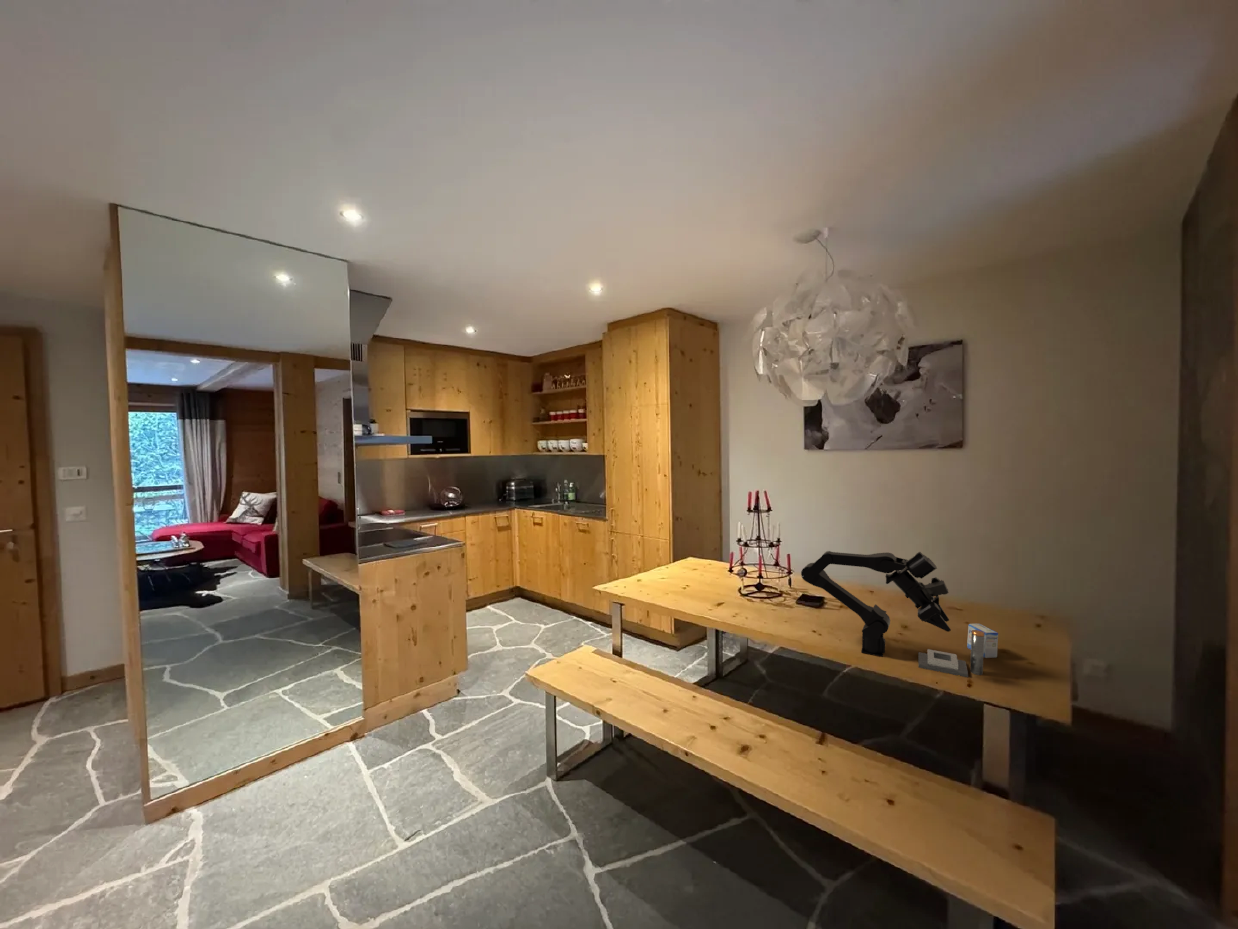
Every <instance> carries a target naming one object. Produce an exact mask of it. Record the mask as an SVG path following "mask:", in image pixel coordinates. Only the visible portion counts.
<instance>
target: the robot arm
mask: <svg viewBox="0 0 1238 929" xmlns="http://www.w3.org/2000/svg"><path fill="white" fill-rule="evenodd" d="M829 565H837V566H847V567H848V566H849V567H860V568H866V569H871V570H873V571H875V572H879V573H883V574H885V584H886V585H888V584H890V583H894V584H895V585H896V586H897V587H898V588H899V589H900V590H901V591H902V592H903V594H904V596H905V597H906V598H907V599H909V600H910V601H911V602H912V603H913V604H914V607H915V608H916V609H917V617H918V618H919V620H921V621H922V622H924V623H928V624H930V625H933V626H934V627H937V628H939V629H941V630H943V631H945V632H948V633H949V632H951V630H952V629H951V627H950V626H949V624H948V623H947V622H949V621H950V619H949V616H948V615H947V614H946V613H945V611H944V610H943V608H942V607H941V604H940V596H941V595H948V594H949V589H948V588H947V587H948V586H947V585H946V583H945V581H944V580H942V579H941V580H940V579H939V578H938V577H936V576H935V577H932V578H931V581H930V582H928V584H924V583H923V582H921V581H918V580H917V579H918V578H919V579H923V578H925V577H926V576H928V575H929V574H931V573H933V572H934V571H935V570H937V569H938V568H937V566H936V564H935V562H934V561H933V560H932V559H930V558H929V557H927V556H926V555H925V554H923V553H922V552H921V551H918V552H916V554H915V555H913V556H911V558H909V559H906V558H901V557H897V556H895V554H893V553H891V552H877V553H871V554H862V553H849V552H838V551H837V552H835V551H831V550H827V551H824V553H823V554H822V555H821V557H819V558H818V559H817V560H816V561H815V562H810V563H807V565H805V566H804V567H803V568H802V569H801V572H800V574H801V575H800V576H801V578H802V580H803V581H805V582H806V583H808V584H809V585H812V586H814V587H817V588H820V589H822V590H824V591H825V592H827V593H828V594H829V595H830V596H832V597H833V598H835V599H836V600H837V601H838V602H840V603H842V604H843V605H844V606H845V607H847V608H848V609H849V610H850V611H851V612H853V613H855V614H856V615H857V616H859V617H860V619H861V620H862V621H863V623H864V625H863V627H862V629H861V635H862V637H861V639H862V640H861V644H862V645H861V653H863V654H868V655H873V656H878V657H883V656H884V654H886V638H884V634H886V633H887V631H888V630H889V628H890V625H891V619H890V616H889V615H888V613H887V611H886V610H884V609H882V608H881V607H880V606H878V605H877V604H874V605H873V606H871V605H868V604H866V603H865V602H863V601H862V600H860V599H859V598H858V597H856V596H855V595H854V594H852V593H851V592H849V591H848V590H847V589H845V588H844V587H843V586H841V585H840V584H838V583H837V582H836V581H835V580H833V579H831V577H830V576H829V575H828V573H827V572H826V571H825V569H826V568H827V567H828V566H829Z"/></svg>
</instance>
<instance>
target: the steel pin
mask: <svg viewBox="0 0 1238 929" xmlns="http://www.w3.org/2000/svg"><path fill="white" fill-rule="evenodd" d="M983 655H984V632H982V631H979V630H972V637H971V650H970V662H969V664H970V665H969V666H970V668H969V673H971V674H974V675H977V676H982V675H983V672H984V657H983Z"/></svg>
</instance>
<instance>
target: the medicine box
mask: <svg viewBox="0 0 1238 929" xmlns="http://www.w3.org/2000/svg"><path fill="white" fill-rule="evenodd" d="M972 630H979V631H982V632H984V655H983V659H984V658H985V659H990V658H992V659H993V658H994V659H995V658H997V657H998V643H999V642H998V641H999V632H997V631H995V630H993V629H991V628H989V627H987V626H985V625H983V624H981V623H969V624H968V626H967V642H966V644H967V646H966V647H967V649H968V650H970V651H971V637H972Z"/></svg>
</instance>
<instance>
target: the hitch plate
mask: <svg viewBox="0 0 1238 929" xmlns="http://www.w3.org/2000/svg"><path fill="white" fill-rule="evenodd" d="M926 652H927V653H926ZM926 652H921V651H920V652H918V658H917V659H918V661H917V662H918V663H917V664H918V665H917V667H918V668H921V669H924V670H928V671H929V670H930V671H934V672H939V671H940V672H939V673H944V674H948V673H949V675H955V676H958V675H960V676H959V677H964V678H969V671H968V666H967V663H966V660H962V659H958V656H957V654H955V653H950V652H946V651H940V650H933V649H930V648H927V651H926Z"/></svg>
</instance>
